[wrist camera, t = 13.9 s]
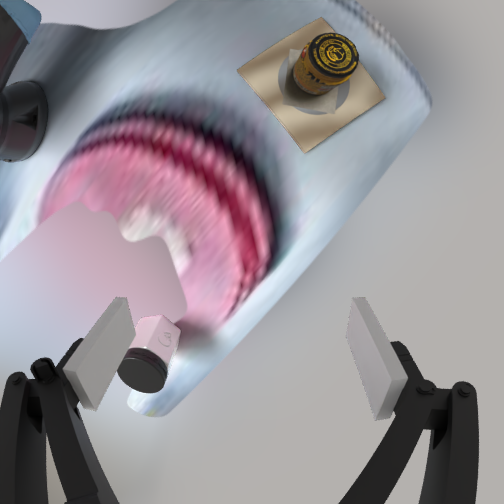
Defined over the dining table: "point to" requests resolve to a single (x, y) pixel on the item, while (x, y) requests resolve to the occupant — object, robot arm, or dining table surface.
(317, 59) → the condiment
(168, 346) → the jar
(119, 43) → the dining table surface
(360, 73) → the board
